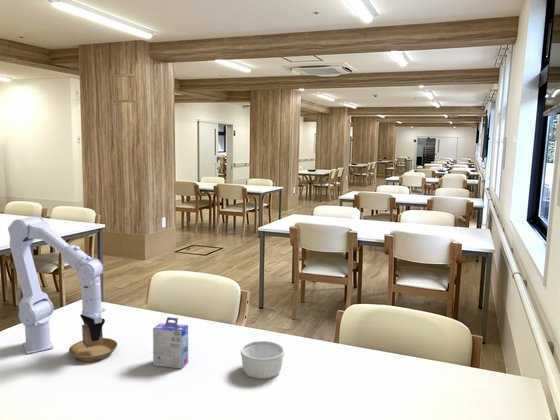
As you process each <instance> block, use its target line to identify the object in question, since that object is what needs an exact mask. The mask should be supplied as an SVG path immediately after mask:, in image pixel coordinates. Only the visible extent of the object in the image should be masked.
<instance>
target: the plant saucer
mask: <svg viewBox="0 0 560 420" xmlns="http://www.w3.org/2000/svg"><path fill="white" fill-rule="evenodd" d="M117 348H118V342H117V341H116V340H115V339H112V338H107V337H103V344H101V345H97V346H93V347H88V348H87V347H86V346H85V345H84V343H83V340H80V341H77V342H75V343H74V344H72V345H71V346H70V347H69V349H68V352H69V354H70V355H71V356H72V357H74V358H75V359H77V360H79V361H83V362H93V361H94V362H95V361H100V360H103V359H105V358H106V357H109V356H110V355H111V354H112V353H113V352H114V351H115V350H116V349H117Z"/></svg>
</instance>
